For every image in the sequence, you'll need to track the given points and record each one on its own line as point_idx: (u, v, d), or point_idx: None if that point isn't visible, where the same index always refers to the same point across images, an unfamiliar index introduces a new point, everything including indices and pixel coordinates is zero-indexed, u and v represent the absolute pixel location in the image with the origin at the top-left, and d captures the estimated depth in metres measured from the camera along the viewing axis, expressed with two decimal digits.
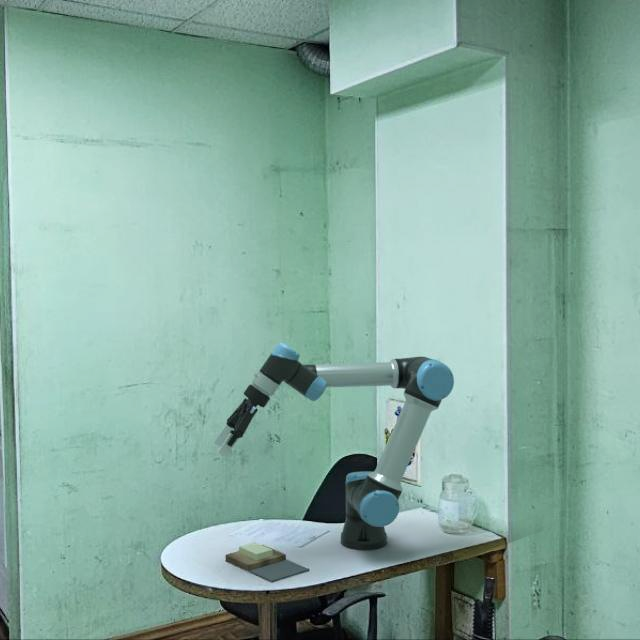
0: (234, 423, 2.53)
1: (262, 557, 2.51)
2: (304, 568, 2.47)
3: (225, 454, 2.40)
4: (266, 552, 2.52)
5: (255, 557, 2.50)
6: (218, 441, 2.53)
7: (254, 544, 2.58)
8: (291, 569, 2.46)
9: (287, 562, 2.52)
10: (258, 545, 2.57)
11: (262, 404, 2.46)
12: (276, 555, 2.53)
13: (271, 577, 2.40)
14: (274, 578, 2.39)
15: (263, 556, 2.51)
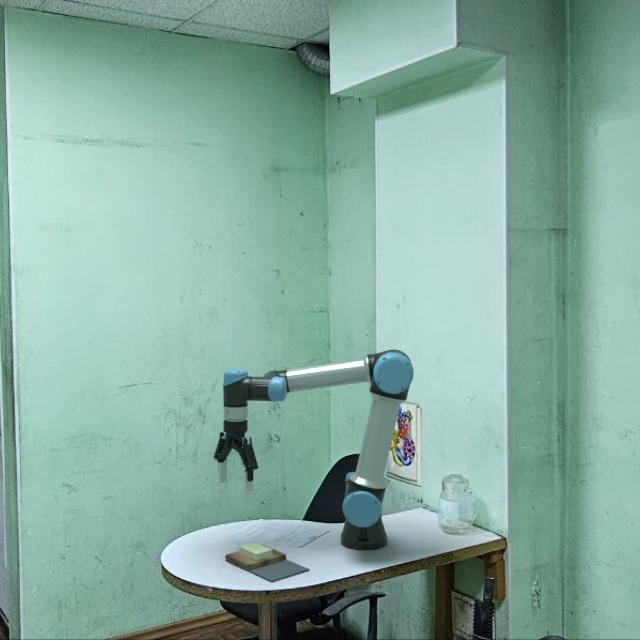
0: (225, 457, 2.65)
1: (262, 557, 2.51)
2: (304, 568, 2.47)
3: (251, 488, 2.56)
4: (266, 552, 2.52)
5: (255, 557, 2.50)
6: (222, 479, 2.65)
7: (254, 544, 2.58)
8: (291, 569, 2.46)
9: (287, 562, 2.52)
10: (258, 545, 2.57)
11: (247, 429, 2.59)
12: (276, 555, 2.53)
13: (271, 577, 2.40)
14: (274, 578, 2.39)
15: (263, 556, 2.51)
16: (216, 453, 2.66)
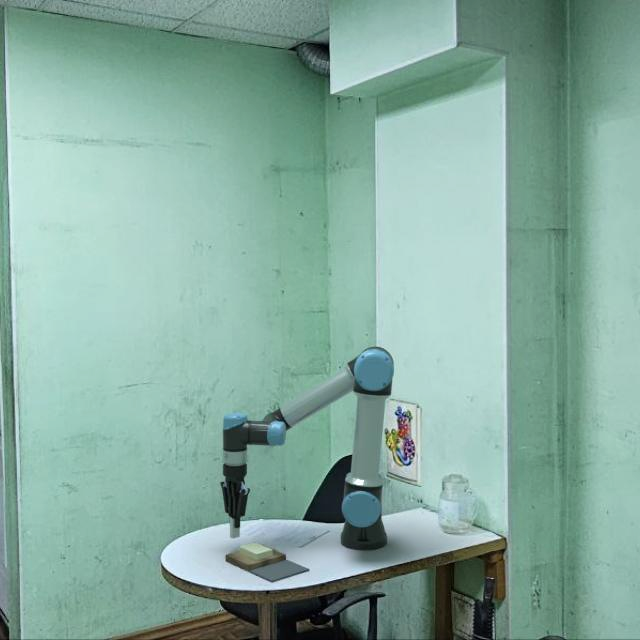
0: None
1: (262, 557, 2.51)
2: (304, 568, 2.47)
3: (238, 535, 2.62)
4: (266, 552, 2.52)
5: (255, 557, 2.50)
6: None
7: (254, 544, 2.58)
8: (291, 569, 2.46)
9: (287, 562, 2.52)
10: (258, 545, 2.57)
11: (246, 473, 2.60)
12: (276, 555, 2.53)
13: (271, 577, 2.40)
14: (274, 578, 2.39)
15: (263, 556, 2.51)
16: (225, 506, 2.64)
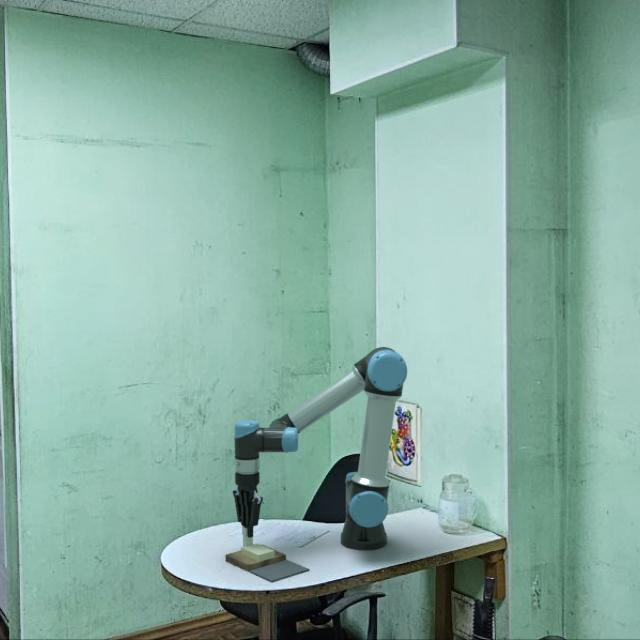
0: None
1: (264, 558, 2.50)
2: (304, 568, 2.47)
3: (251, 544, 2.58)
4: (268, 553, 2.51)
5: (257, 558, 2.49)
6: None
7: (256, 544, 2.57)
8: (291, 569, 2.46)
9: (287, 562, 2.52)
10: (260, 546, 2.56)
11: (259, 481, 2.56)
12: (276, 555, 2.53)
13: (271, 577, 2.40)
14: (274, 578, 2.39)
15: (265, 557, 2.50)
16: (238, 515, 2.59)
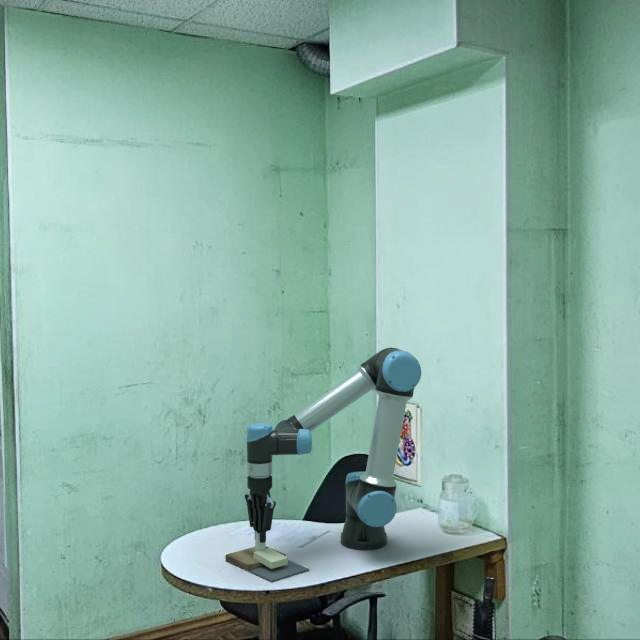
0: None
1: (277, 565, 2.45)
2: (304, 568, 2.47)
3: None
4: (281, 560, 2.46)
5: (271, 565, 2.44)
6: None
7: (269, 549, 2.52)
8: (291, 569, 2.46)
9: None
10: (273, 551, 2.51)
11: (271, 485, 2.51)
12: None
13: (271, 577, 2.40)
14: (274, 578, 2.39)
15: (278, 564, 2.45)
16: (250, 519, 2.54)
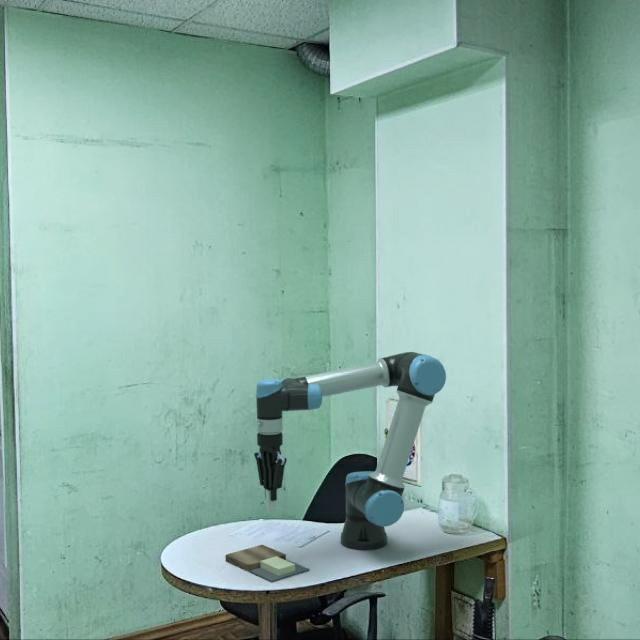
0: None
1: (284, 572, 2.42)
2: (304, 568, 2.47)
3: (274, 508, 2.48)
4: (288, 567, 2.43)
5: (278, 572, 2.41)
6: None
7: (276, 558, 2.50)
8: None
9: None
10: (280, 559, 2.49)
11: (282, 442, 2.46)
12: (276, 555, 2.53)
13: (271, 577, 2.40)
14: (274, 578, 2.39)
15: (285, 571, 2.43)
16: (260, 478, 2.49)
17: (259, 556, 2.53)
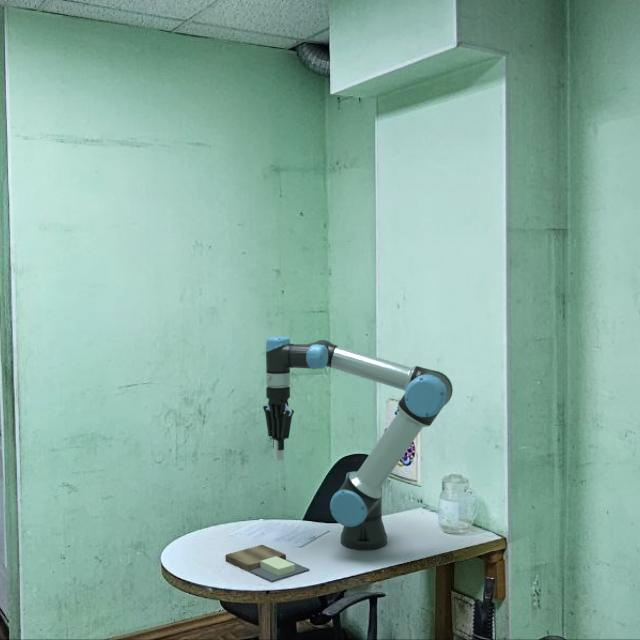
0: None
1: (284, 572, 2.42)
2: (304, 568, 2.47)
3: (282, 457, 2.65)
4: (288, 567, 2.43)
5: (278, 572, 2.41)
6: None
7: (276, 558, 2.50)
8: None
9: None
10: (280, 559, 2.49)
11: (289, 395, 2.63)
12: (276, 555, 2.53)
13: (271, 577, 2.40)
14: (274, 578, 2.39)
15: (285, 571, 2.43)
16: (269, 429, 2.66)
17: (259, 556, 2.53)
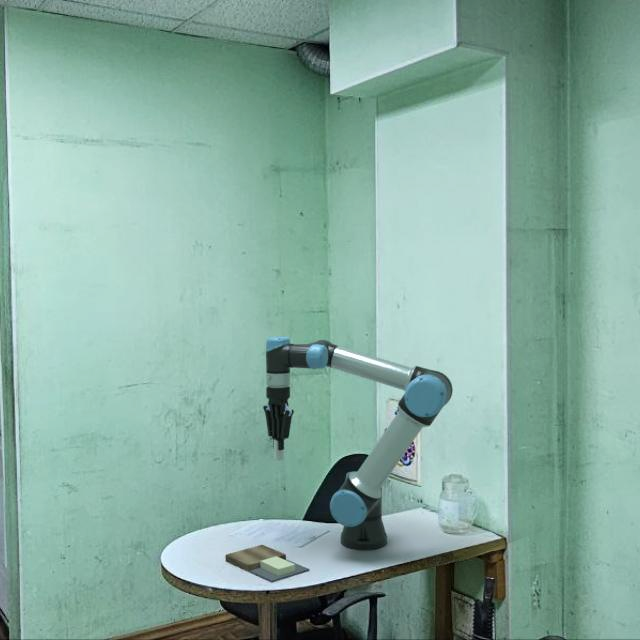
0: None
1: (284, 572, 2.42)
2: (304, 568, 2.47)
3: (282, 457, 2.65)
4: (288, 567, 2.43)
5: (278, 572, 2.41)
6: None
7: (276, 558, 2.50)
8: None
9: None
10: (280, 559, 2.49)
11: (289, 395, 2.63)
12: (276, 555, 2.53)
13: (271, 577, 2.40)
14: (274, 578, 2.39)
15: (285, 571, 2.43)
16: (269, 429, 2.66)
17: (259, 556, 2.53)
